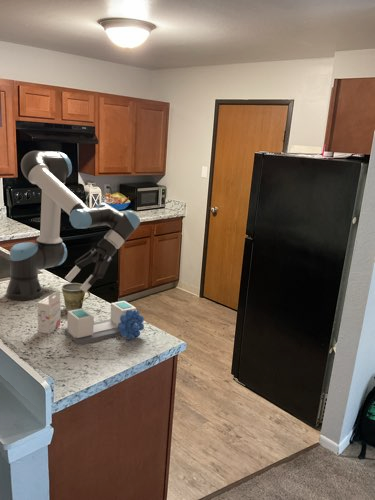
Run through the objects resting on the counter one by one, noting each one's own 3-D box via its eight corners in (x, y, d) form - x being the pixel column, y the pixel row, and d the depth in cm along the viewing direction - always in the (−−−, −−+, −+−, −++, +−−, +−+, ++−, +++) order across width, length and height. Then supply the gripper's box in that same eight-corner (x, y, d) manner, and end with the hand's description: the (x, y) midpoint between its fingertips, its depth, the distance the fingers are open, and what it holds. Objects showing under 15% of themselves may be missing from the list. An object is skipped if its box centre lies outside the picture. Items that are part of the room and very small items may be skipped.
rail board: (64, 332, 158) (64, 309, 156) (122, 319, 173) (123, 298, 171) (78, 345, 149) (78, 321, 147) (138, 330, 164) (139, 308, 162)
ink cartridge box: (48, 323, 165) (49, 287, 161) (60, 325, 164) (61, 289, 160) (37, 332, 156) (36, 294, 153) (49, 334, 156) (49, 296, 152)
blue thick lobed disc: (124, 347, 150) (125, 316, 147) (113, 340, 154) (114, 310, 152) (150, 339, 157) (151, 309, 155) (139, 333, 162) (140, 304, 159)
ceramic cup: (56, 310, 178) (56, 287, 176) (71, 302, 187) (71, 281, 185) (82, 316, 174) (82, 293, 171) (96, 308, 183) (96, 287, 180)
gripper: (132, 257, 161) (95, 300, 155) (101, 243, 180) (67, 281, 174) (120, 244, 156) (82, 289, 151) (90, 231, 175) (55, 270, 169)
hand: (74, 285), depth 162 cm, fingers open, 13 cm apart
